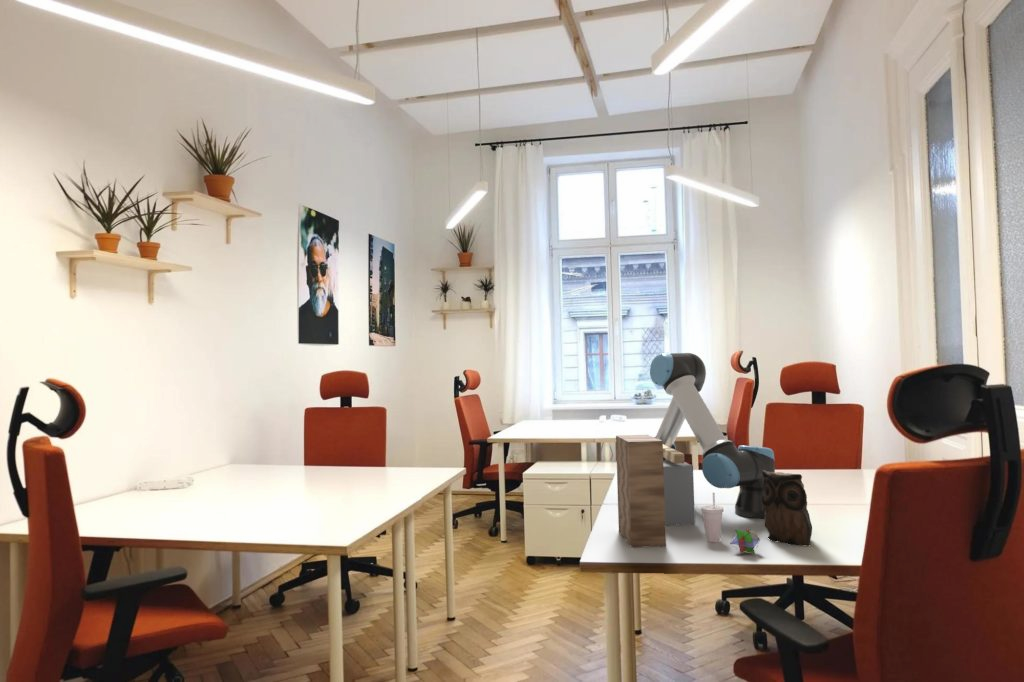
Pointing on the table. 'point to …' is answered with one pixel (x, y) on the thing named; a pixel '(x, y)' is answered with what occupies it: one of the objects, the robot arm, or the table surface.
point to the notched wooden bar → (673, 455)
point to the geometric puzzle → (746, 540)
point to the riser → (678, 493)
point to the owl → (786, 508)
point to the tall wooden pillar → (641, 490)
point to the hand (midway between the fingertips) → (665, 440)
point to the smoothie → (712, 521)
